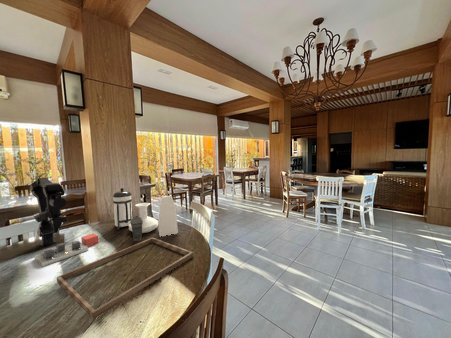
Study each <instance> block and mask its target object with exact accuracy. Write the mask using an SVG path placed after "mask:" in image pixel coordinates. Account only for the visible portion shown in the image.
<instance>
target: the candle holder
mask: <svg viewBox="0 0 451 338" xmlns="http://www.w3.org/2000/svg"><path fill="white" fill-rule="evenodd" d="M150 205H151V202H140V203H136V204H135V207H137V208H138V213H139V214H138V216H140V217H141V218H142V221H143V224H142V234H145V233H150V232H151V231H154V230H155V229H157V227H158V226H159V219H158V220H157V219H156V218H155V217H151V216H148V207H149V206H150ZM128 230H129V231H131V232H132V226H131V223H130V224H129V225H128Z"/></svg>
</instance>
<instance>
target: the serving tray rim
mask: <svg viewBox="0 0 451 338" xmlns="http://www.w3.org/2000/svg"><path fill="white" fill-rule="evenodd" d="M151 243H153V244H157V245H159V246H161V247H164V248H167V249H169V250H171V251H173V252H176V253H179V254H181V255H184V256H183V257H180V258H179V259H177V260H176V261H174V262H172V263H171V264H168V265H167V266H165V267H164V268H162V269H161V270H159V271H157V272H156V273H154V274H152V275H150V276H149V277H147V278H146V279H144V280H143V281H140V282H139V283H137V284H135V285H134V286H132V287H131V288H128V289H127V290H126V291H124V292H123V293H121V294H119V295H117V296H115V297H113V298H112V299H111V300H109V301H107V302H106V303H104V304H102V305H100V306H99V307H97V308H96V309H95V308H94V307H93V306H92V305H91V304H90V303H88V301H87V300H85V298H84V297H82V296H81V295H80V294H79V293H78V292H77V291H76V290H75V289H74V288H73V287H72V286H71V285H70V284H69V283H68V282H67V281H66V280H68V279H72V278H73V277H76V276H78V275H80V274H83V273H86V272H87V271H89V270H92V269H95V268H96V267H98V266H101V265H103V264H105V263H108V262H110V261H112V260H114V259H115V260H116V259H117V258H120V257H121V256H124V255H126V254H129V253H131V252H133V251H135V250H138V249H140V248H142V247H145V246H147V245H149V244H151ZM193 257H194V252H193V251H190V250H187V249H185V248H182V247H179V246H177V245H174V244H171V243H170V242H169V243H168V242H167V241H164V240H161V239H158V238H156V237H153V236H152V237H150V238H148V239H145V240H143V241H141V242H138V243H136V244H133V245H131V246H129V247H126V248H124V249H122V250H119V251H117V252H113V253H112V254H109V255H106V256H104V257H102V258H99V259H97V260H95V261H92V262H90V263H87V264H85V265H83V266H80V267H77V268H75V269H73V270H71V271H68V272H65V273H63V274H61V275H59V276H56V283H57V284H58V285H59V286H60V287H61V288H62V289H63V290H64V291H65V292H66V294H67V295H69V297H71V299H73V301H74V302H75V301H76V302H77V303H78V304H79V305H80V306H81V307H82V308H83V309H84V310H85V311H86V312H87V313H88V314H89V315H90V316H91V317H92V318H93V319H94V318H95V317H97V316H99V315H101V314H102V313H104V312H105V313H107V312H108V310H109V309H110V310H112V309H113V308H115V307H116V306H118V305H120V304H122V303H123V302H124V301H126V300H128V299H129V298H131V297H132V296H134V295H135V294H137V293H139V292H140V291H142V290H143V289H145V288H146V287H148V286H149V284H150V285H151V284H153V283H154V282H156V281H157V280H159V279H160V277H161V278H162V277H164V276H165V275H167V274H168V273H170V272H172V271H173V270H174V268H175V269H176V268H178V267H180V266H181V265H182V263H183V264H184V263H186V262H187V261H189V260H190V259H192V258H193ZM177 266H178V267H177ZM171 270H172V271H171ZM169 271H170V272H169ZM166 273H167V274H166ZM163 275H164V276H163ZM155 280H156V281H155ZM144 287H145V288H144ZM138 291H139V292H138ZM133 294H134V295H133ZM130 296H131V297H130ZM76 302H75V303H76ZM77 303H76V304H77ZM119 303H120V304H119ZM78 304H77V305H78ZM79 305H78V306H79ZM114 306H115V307H114ZM81 307H80V308H81ZM82 308H81V309H82ZM111 308H112V309H111ZM83 309H82V310H83ZM84 310H83V311H84ZM110 310H109V311H110ZM85 311H84V312H85ZM106 311H107V312H106ZM86 312H85V313H86ZM87 313H86V314H87ZM105 313H104V314H105ZM88 314H87V315H88ZM89 315H88V316H89ZM102 315H103V314H102ZM102 315H101V316H102ZM90 316H89V317H90ZM91 317H90V318H91ZM99 317H100V316H99ZM92 318H91V319H92ZM93 319H92V320H93ZM94 320H95V319H94Z"/></svg>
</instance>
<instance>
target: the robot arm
mask: <svg viewBox="0 0 451 338" xmlns="http://www.w3.org/2000/svg"><path fill="white" fill-rule="evenodd" d="M29 190H30V193H32V196H33V197H35V198H36V200H37V204H38V210H39V213H38V214H34V215H33V219H34V220H35V222H36V223H39V224H38V228H37V231H36V232H37V236H38V237H39V238H41V243H40V244H39V245H40V246H42V247H47V246H50V245H54V244H58V243H57V241H56V240H55V234H56V233H58V232H59V230H60V228H61V225H62V224H63V223H65V222H68V217H66V216H64V215H63V213H62V208H64V207H65V206H66V205H67V200H66V198H63V197H62V196H65V194H66V193H65V189H64V188H63V185H61V184H60V183H59V182H52V181H51V180H50V179H49V178H48V177H41V178H40V177H39V178H38V177H37V178H36V180H35V181H33V182H32V183H31V184H30V187H29Z"/></svg>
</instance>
